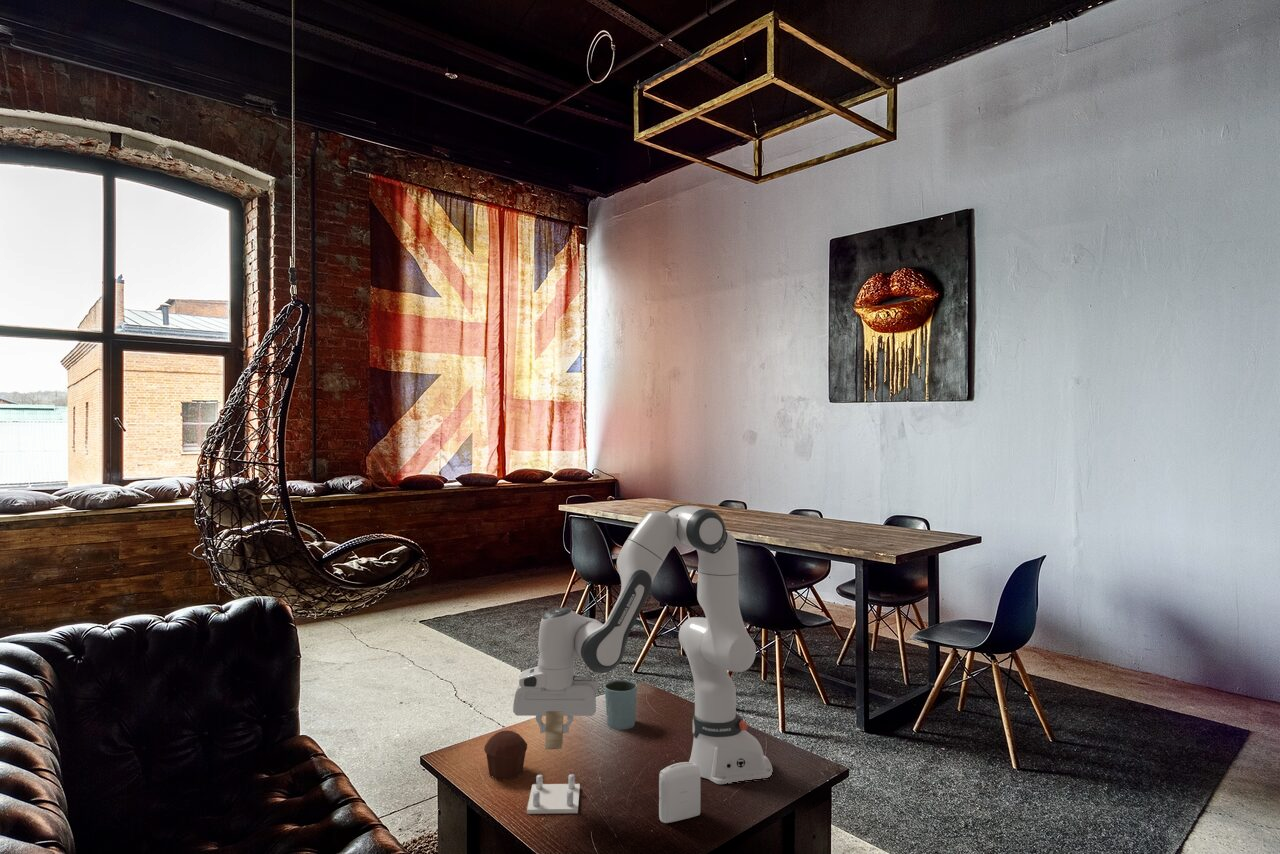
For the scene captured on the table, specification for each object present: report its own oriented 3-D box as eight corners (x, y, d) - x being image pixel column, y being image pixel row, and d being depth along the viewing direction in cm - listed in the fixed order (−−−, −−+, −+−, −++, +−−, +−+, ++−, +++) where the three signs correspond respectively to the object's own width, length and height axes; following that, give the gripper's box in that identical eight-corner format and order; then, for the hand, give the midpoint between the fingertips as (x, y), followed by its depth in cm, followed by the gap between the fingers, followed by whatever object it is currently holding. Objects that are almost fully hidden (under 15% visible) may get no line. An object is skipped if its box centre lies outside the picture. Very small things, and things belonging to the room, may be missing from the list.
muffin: (533, 776, 185) (534, 737, 185) (493, 786, 179) (493, 747, 179) (516, 757, 195) (517, 721, 195) (477, 767, 189) (478, 730, 189)
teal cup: (639, 729, 215) (640, 689, 215) (607, 732, 212) (607, 692, 212) (632, 716, 224) (633, 678, 224) (601, 718, 222) (601, 680, 222)
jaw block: (562, 742, 175) (563, 705, 175) (561, 749, 171) (562, 711, 171) (546, 742, 174) (547, 705, 175) (545, 749, 170) (546, 711, 171)
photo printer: (663, 826, 162) (664, 772, 162) (655, 816, 166) (656, 763, 166) (703, 816, 166) (703, 764, 166) (694, 807, 170) (695, 756, 170)
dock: (579, 787, 179) (579, 771, 179) (577, 813, 167) (577, 796, 167) (532, 788, 178) (532, 772, 178) (526, 813, 166) (527, 796, 166)
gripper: (598, 671, 176) (597, 727, 176) (516, 671, 176) (514, 727, 175) (597, 680, 170) (596, 738, 170) (512, 680, 169) (511, 737, 169)
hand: (554, 732), depth 173 cm, fingers closed on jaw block, 4 cm apart
